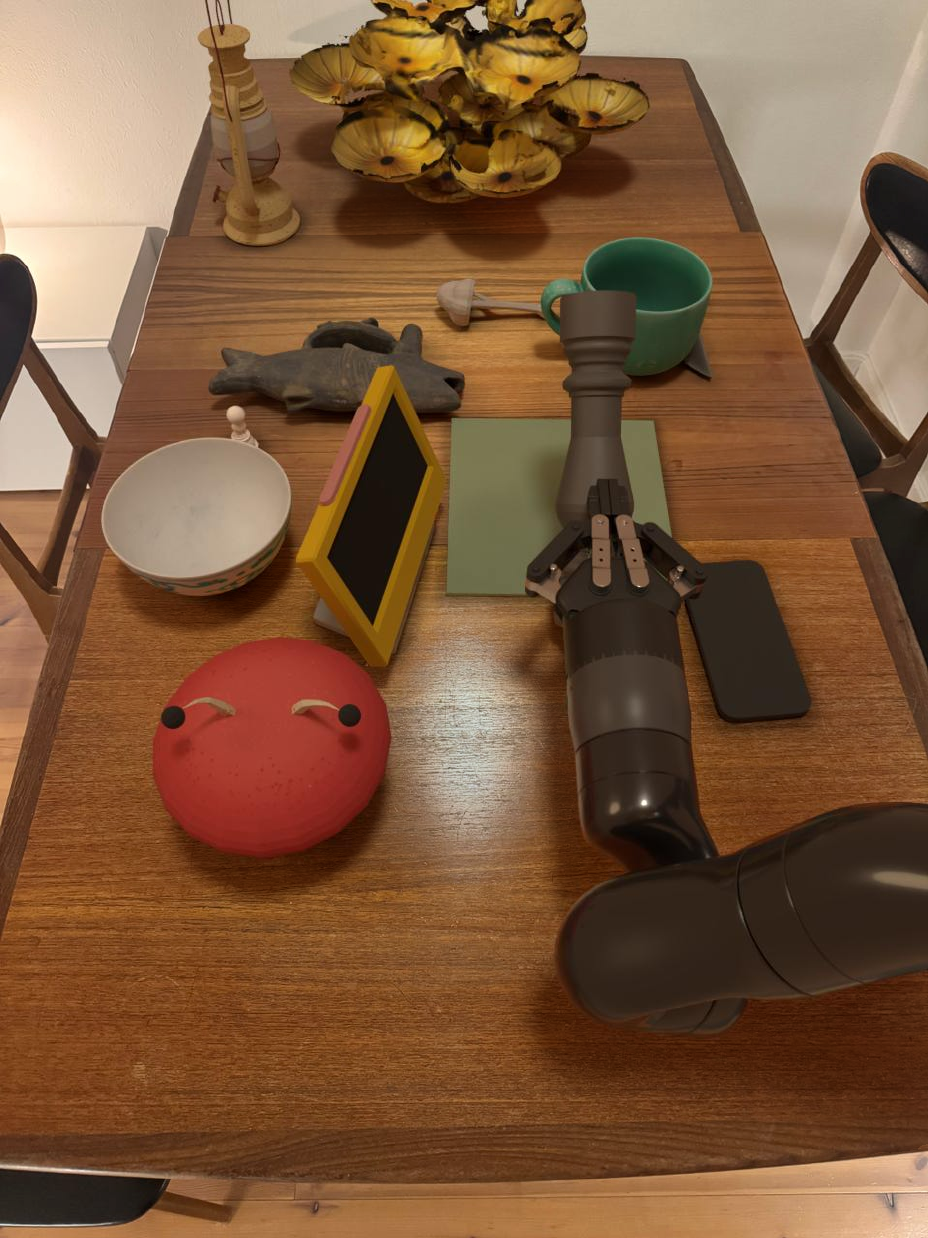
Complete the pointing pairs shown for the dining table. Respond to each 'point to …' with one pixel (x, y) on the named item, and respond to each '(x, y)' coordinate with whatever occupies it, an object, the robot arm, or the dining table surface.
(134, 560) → the chinaware
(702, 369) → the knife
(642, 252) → the mug
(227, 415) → the chess pawn
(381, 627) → the yellow framed monitor
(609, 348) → the candle holder
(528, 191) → the mushroom
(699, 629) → the phone
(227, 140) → the lantern
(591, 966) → the robot arm
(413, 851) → the dining table surface
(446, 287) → the mushroom
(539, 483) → the mat
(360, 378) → the ceramic vessel
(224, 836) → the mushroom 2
